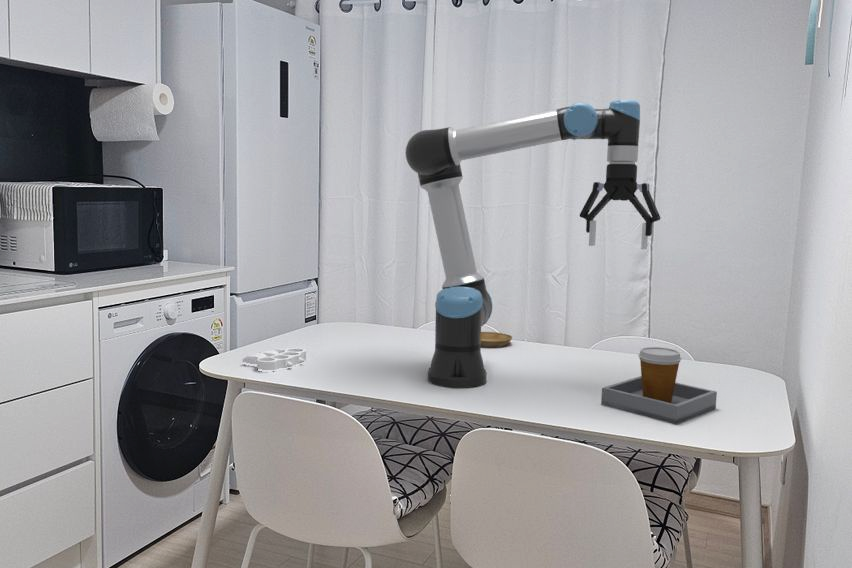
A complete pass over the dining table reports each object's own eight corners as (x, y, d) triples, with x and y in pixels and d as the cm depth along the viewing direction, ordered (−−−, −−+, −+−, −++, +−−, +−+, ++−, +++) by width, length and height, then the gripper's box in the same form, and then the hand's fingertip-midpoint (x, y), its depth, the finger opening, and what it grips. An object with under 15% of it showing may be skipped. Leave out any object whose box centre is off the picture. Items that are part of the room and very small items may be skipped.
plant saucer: (488, 337, 254) (488, 329, 253) (521, 345, 243) (522, 337, 242) (455, 343, 244) (455, 334, 244) (488, 351, 233) (489, 343, 233)
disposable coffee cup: (684, 408, 174) (687, 356, 172) (642, 407, 174) (645, 355, 172) (670, 396, 183) (674, 347, 182) (631, 395, 183) (633, 346, 182)
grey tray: (601, 404, 179) (601, 387, 178) (642, 390, 191) (643, 375, 191) (676, 424, 165) (677, 406, 165) (715, 408, 178) (716, 391, 177)
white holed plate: (275, 356, 223) (318, 362, 216) (234, 369, 207) (279, 376, 200) (275, 344, 222) (318, 350, 216) (234, 357, 206) (279, 363, 200)
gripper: (676, 164, 191) (670, 249, 194) (580, 163, 204) (576, 243, 207) (668, 163, 185) (662, 251, 188) (569, 162, 198) (566, 245, 200)
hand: (617, 247), depth 197 cm, fingers open, 13 cm apart
